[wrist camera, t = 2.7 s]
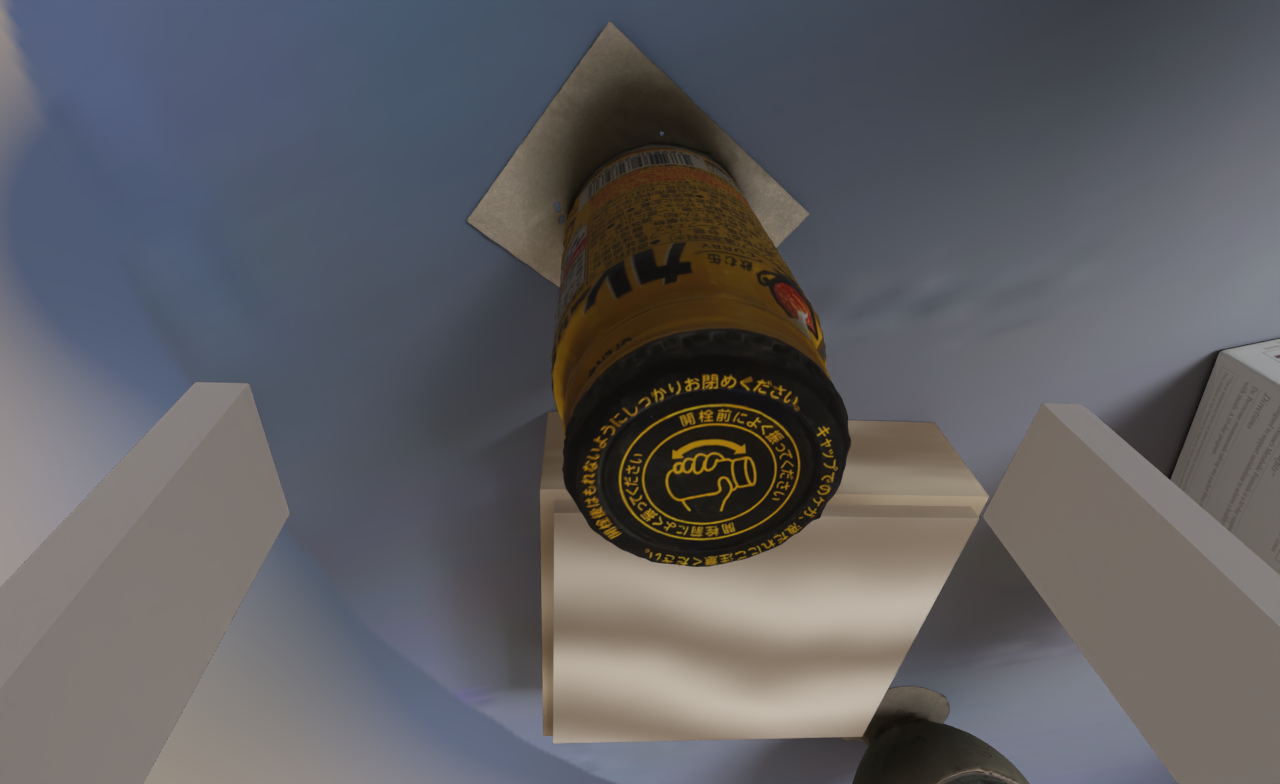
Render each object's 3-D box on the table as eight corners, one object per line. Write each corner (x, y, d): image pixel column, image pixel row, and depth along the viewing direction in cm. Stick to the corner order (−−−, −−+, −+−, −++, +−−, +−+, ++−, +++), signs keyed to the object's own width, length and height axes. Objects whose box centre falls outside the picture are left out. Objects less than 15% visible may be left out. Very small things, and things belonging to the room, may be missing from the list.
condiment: (662, 358, 24) (710, 642, 14) (466, 218, 20) (345, 462, 10) (808, 211, 21) (1002, 436, 11) (609, 19, 17) (629, 93, 7)
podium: (547, 411, 25) (538, 501, 21) (934, 422, 26) (998, 508, 22) (548, 652, 34) (542, 748, 29) (836, 650, 35) (869, 741, 31)
